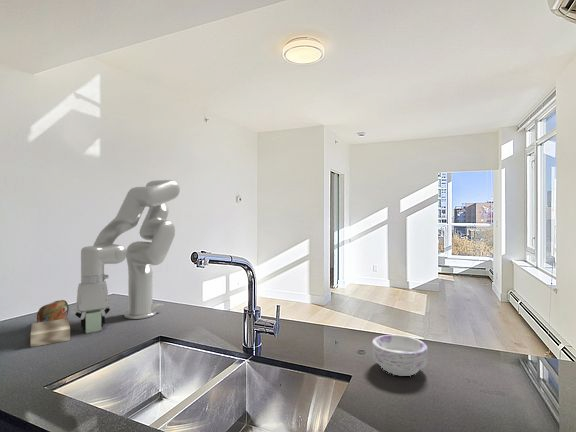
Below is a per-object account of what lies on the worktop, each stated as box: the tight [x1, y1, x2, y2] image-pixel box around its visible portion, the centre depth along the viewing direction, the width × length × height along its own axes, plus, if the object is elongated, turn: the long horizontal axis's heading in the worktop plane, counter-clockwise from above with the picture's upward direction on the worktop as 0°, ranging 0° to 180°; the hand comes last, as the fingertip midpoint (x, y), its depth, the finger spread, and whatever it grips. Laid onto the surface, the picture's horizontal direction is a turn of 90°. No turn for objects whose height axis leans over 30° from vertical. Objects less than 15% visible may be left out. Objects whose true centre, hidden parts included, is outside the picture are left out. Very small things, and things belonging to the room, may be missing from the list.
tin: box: [36, 299, 70, 323], centre depth 137 cm, size 15×3×8 cm, turn 179°
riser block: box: [30, 317, 71, 348], centre depth 122 cm, size 11×14×4 cm
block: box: [84, 309, 102, 334], centre depth 130 cm, size 5×5×7 cm
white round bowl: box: [371, 334, 429, 375], centre depth 100 cm, size 15×15×8 cm
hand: (92, 327), depth 130 cm, fingers closed on block, 5 cm apart
